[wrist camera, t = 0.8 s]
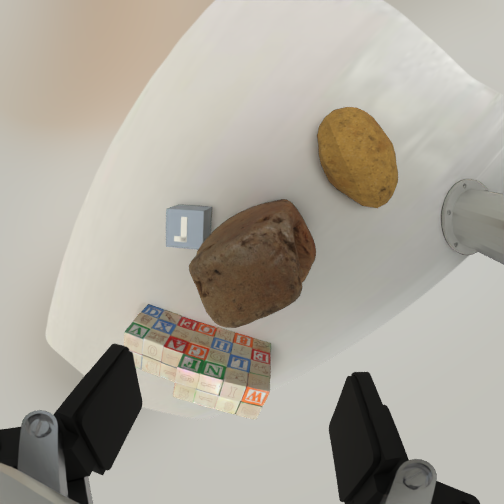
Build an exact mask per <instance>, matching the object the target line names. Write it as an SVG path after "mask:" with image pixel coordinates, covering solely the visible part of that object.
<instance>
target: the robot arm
mask: <svg viewBox="0 0 504 504" xmlns="http://www.w3.org/2000/svg"><path fill="white" fill-rule="evenodd" d="M442 228H443V233H444V236H445V238H446V241H447V242H448V244H449V246H450V247H451V248H452V249H453V250H455V251H456V252H458V253H460V254H463V255H471V254H474V253H476V252H480V253H482V254H484V255H486V256H488V257H490V258H492V259H494V260H496V261H498V262H500V263H502V264H504V194H499V193H494V192H489V191H488V189H487V188H486V187H485V186H484V185H483V184H482V183H481V182H479V181H477V180H472V179H465V180H462V181H460V182H458V183H456V184H455V185H454V186H453V187H452V189H451V190H450V191H449V193H448V195H447V197H446V199H445V202H444V205H443V210H442ZM141 408H142V397H141V393H140V388H139V383H138V378H137V373H136V368H135V362H134V357H133V353H132V352H131V351H129V348H128V347H126V346H122V345H118V344H112V345H111V346H110V347H109V349H108V350H107V351H106V352H105V353H104V354H103V356H102V357H101V358H100V359H99V360H98V362H97V363H96V364H95V365H94V366H93V367H92V369H91V370H90V371H89V372H88V373H87V374H86V375H85V376H84V378H83V379H82V380H81V381H80V383H79V384H78V385H77V386H76V387H75V389H74V390H73V391H72V392H71V394H70V395H69V396H68V397H67V398H66V400H65V401H64V402H63V403H62V405H61V406H60V407H59V408H58V410H57V411H56V412H55V414H54V415H52V414H51V413H49V412H47V411H42V410H39V411H33V412H31V413H29V414H28V415H26V416H25V418H24V419H23V421H22V425H21V427H16V428H10V429H2V430H0V504H93V501H92V496H91V491H90V484H89V478H88V476H90V474H91V472H92V471H94V472H96V473H98V474H101V475H103V474H104V472H105V470H109V469H110V468H111V467H112V465H113V463H114V461H115V459H116V457H117V455H118V453H119V451H120V449H121V447H122V445H123V443H124V441H125V439H126V437H127V435H128V433H129V431H130V429H131V427H132V425H133V423H134V422H135V420H136V418H137V416H138V414H139V412H140V410H141ZM329 434H330V440H331V445H332V451H333V458H334V464H335V471H336V477H337V485H338V492H339V498H340V501H341V502H345V504H480V502H479V500H478V499H477V498H476V497H475V496H473V495H471V494H468V493H465V492H463V491H460V490H458V489H455V488H453V487H450V486H448V485H445V484H443V483H441V482H438V481H436V479H437V474H436V471H435V469H434V467H433V466H432V465H431V464H430V463H428V462H427V461H424V460H420V459H413V460H408V457H407V454H406V452H405V449H404V446H403V444H402V441H401V438H400V436H399V433H398V431H397V428H396V426H395V424H394V421H393V418H392V416H391V413H390V411H389V409H388V407H387V406H386V405H383V404H382V402H381V399H380V397H379V395H378V392H377V390H376V387H375V385H374V382H373V380H372V378H371V375H370V373H369V372H354V373H352V376H348V377H347V379H346V381H345V384H344V387H343V390H342V393H341V395H340V398H339V401H338V403H337V406H336V409H335V411H334V414H333V416H332V419H331V421H330V425H329Z"/></svg>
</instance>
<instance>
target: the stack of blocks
mask: <svg viewBox="0 0 504 504" xmlns="http://www.w3.org/2000/svg"><path fill="white" fill-rule="evenodd" d="M124 346H126V347H128V348H129V351H131V352H132V353H133V357H134V362H135V367H136V368H139V369H141V370H143V371H145V372H148V373H151V374H153V375H156V376H159V377H161V378H164V379H167V380H170V381H173V382H175V387H174V392H173V397H176V398H179V399H182V400H185V401H188V402H192V403H196V404H198V405H202V406H206V407H209V408H214V409H216V410H220V411H223V412H227V413H231V414H236V415H238V416H242V417H246V418H251V419H257V416H258V415H259V413H260V411H261V409H262V406H263V405H264V403H265V401H266V399H267V397H268V394H269V392H270V376H271V375H270V373H271V372H270V370H271V366H270V352H271V343H268V342H265V341H261V340H258V339H254V338H252V337H249V336H245V335H242V334H238V333H235V332H232V331H229V330H225V329H222V328H219V327H214V326H210V325H207V324H204V323H201V322H197V321H194V320H191V319H188V318H185V317H182V316H180V315H178V314H175V313H172V312H169V311H166V310H163V309H160V308H158V307H155V306H152V305H149V304H148V305H147V306H146V307H145V308H144V310H143V311H142V312H141V313H140V314H139V315H138V316H137V317H136V318H135V319H134V321H133V322H132V324H131V325H130V326H129V327H128V328H127V329H126V331H125V333H124Z"/></svg>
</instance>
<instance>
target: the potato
mask: <svg viewBox="0 0 504 504" xmlns="http://www.w3.org/2000/svg"><path fill="white" fill-rule="evenodd" d="M317 138H318V144H319V157H320V162H321V165H322V167H323V170H324V172H325V174H326V176H327V178H328V180H329V182H330V183H331V184H332V185H333V186H334V187H336V188H337V189H338V190H339V191H341V192H342V193H344V194H345V195H347V196H348V197H349V198H351V199H353V200H354V201H356V202H357V203H359V204H361V205H362V206H368V207H374V208H378V207H380V206H382V205H384V204H386V203H387V202H388V201H389V199H390V198H391V197H392V195H393V193H394V190H395V188H396V185H397V183H398V170H397V165H396V156H395V151H394V147H393V144H392V142H391V141H390V140H389V138H388V137H387V135H386V134H385V133H384V131H383V130H382V128H381V127H380V126H379V124H378V123H377V122H376V121H375V119H374V118H373V117H372V116H370V115H369V114H368V113H366V112H365V111H363V110H361V109H358V108H353V107H345V108H341V109H336V110H334V111H332V112H331V113H330V114H329V115H327V116H326V117H325V118H324V119H323V121H322V123H321V124H320V126H319V129H318V134H317Z"/></svg>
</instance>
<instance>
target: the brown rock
mask: <svg viewBox="0 0 504 504" xmlns="http://www.w3.org/2000/svg"><path fill="white" fill-rule="evenodd" d="M315 256H316V248H315V243H314V240H313V238H312V236H311V233H310V231H309V229H308V227H307V225H306V223H305V222H304V220H303V218H302V216H301V215H300V213H299V212H298V210H297V209H296V207H295V206H294V205H293V204H292V203H291V202H290V201H288V200H286V199H281V200H277V201H272V202H268V203H264V204H260V205H257V206H254V207H251V208H249V209H247V210H245V211H242V212H240V213H238V214H236V215H235V216H233V217H231V218H229V219H228V220H226V221H225V222H224V223H222V224H221V225H220V226H219V227H217V228H216V229H215V230H214V231H213V232H212V233H211V234H210V235H209V236H208V237H207V238H206V240H205V241H204V242H203V243H202V245H201V246H200V248H199V249H198V251H197V255H196V257H195V258H194V259H193V260H192V261H191V263H190V265H189V271H190V274H191V276H192V278H193V281H194V283H195V284H196V287H197V289H198V292H199V295H200V298H201V300H202V303H203V305H204V307H205V309H206V312H207V313H208V314H209V316H210V317H211V318H212V320H213V321H214V322H215V323H216V324H218V325H220V326H223V327H231V328H236V327H240V326H243V325H246V324H249V323H251V322H253V321H255V320H257V319H260V318H263V317H266V316H268V315H270V314H272V313H275V312H277V311H279V310H281V309H283V308H285V307H286V306H288V305H290V304H291V303H293V302H294V301H296V299H297V298H298V297H299V296H300V294H301V290H302V282H303V281H304V280H305V278H306V276H307V275H308V273H309V270H310V269H311V266H312V264H313V262H314V260H315Z"/></svg>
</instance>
